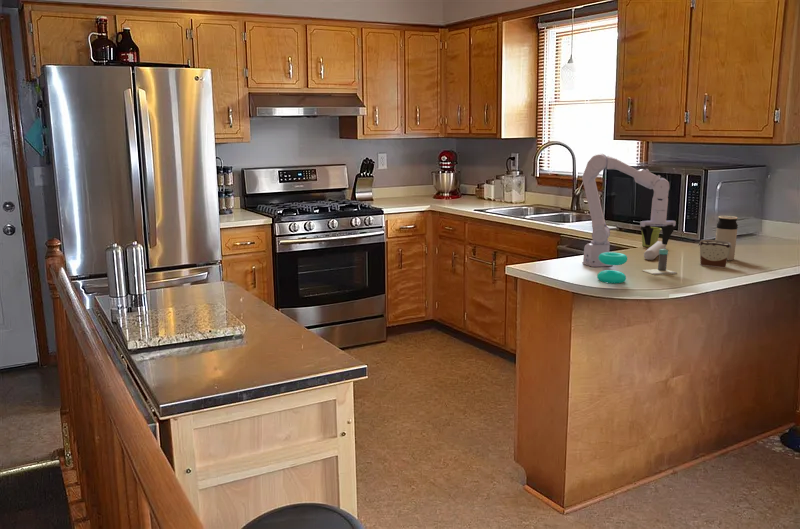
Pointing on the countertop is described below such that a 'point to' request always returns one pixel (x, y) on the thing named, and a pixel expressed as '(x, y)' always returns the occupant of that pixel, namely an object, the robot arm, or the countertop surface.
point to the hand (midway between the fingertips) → (656, 244)
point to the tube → (654, 250)
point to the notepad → (659, 272)
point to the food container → (714, 253)
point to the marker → (662, 259)
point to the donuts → (612, 275)
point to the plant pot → (652, 236)
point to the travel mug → (727, 232)
